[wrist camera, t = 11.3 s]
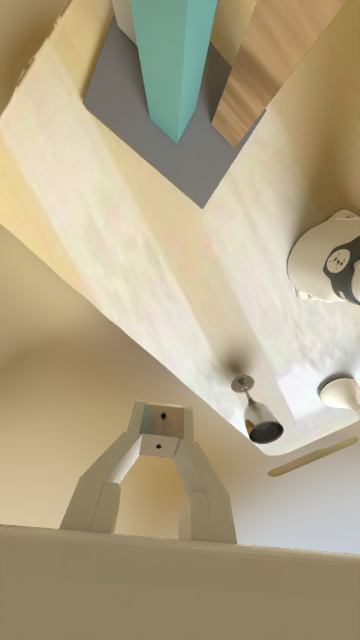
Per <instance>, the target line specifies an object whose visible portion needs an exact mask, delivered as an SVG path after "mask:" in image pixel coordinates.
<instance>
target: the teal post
mask: <svg viewBox="0 0 360 640" xmlns="http://www.w3.org/2000/svg"><path fill="white" fill-rule="evenodd" d="M217 2H218V0H130V6H131V12H132V17H133V23H134V29H135V35H136V40H137V46H138V52H139V58H140V63H141V69H142V75H143V81H144V86H145V92H146V98H147V104H148V109H149V115H150V119H151V120H152V121H153V122H154V123H155V124H156V125H157V126H158V127H159V128H160V129H161V130H162V131H164V132H165V133H166V134H167V135H168V136H169V137H170V138H171V139H172V140H173V141H174V142H175V143H176V144H177V143H178V141H179V139H180V137H181V135H182V134H183V132H184V130H185V128H186V126H187V124H188V122H189V120H190V119H191V117H192V115H193V113H194V111H195V109H196V104H197V100H198V95H199V90H200V85H201V80H202V75H203V70H204V65H205V60H206V56H207V51H208V46H209V41H210V36H211V31H212V26H213V21H214V16H215V11H216V7H217Z"/></svg>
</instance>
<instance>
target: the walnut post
mask: <svg viewBox="0 0 360 640" xmlns="http://www.w3.org/2000/svg"><path fill="white" fill-rule="evenodd" d="M346 1H347V0H258V1H257V3H256V6H255V9H254V11H253V14H252V17H251V19H250V22H249V25H248V27H247V30H246V33H245V35H244V38H243V41H242V43H241V46H240V49H239V51H238V54H237V57H236V59H235V62H234V65H233V67H232V70H231V73H230V75H229V78H228V81H227V83H226V86H225V89H224V91H223V94H222V97H221V99H220V102H219V105H218V107H217V110H216V113H215V115H214V118H213V121H212V123H211V125H212V126H213V127H214V128H215V129H216V130H217V131H218V132H219V133H220V134H221V135H222V136H223V137H224V138H225V139H226V140H227V141H228V143H229V144H230V145H231V146H232V147H233V148H234V149H235V147H236V146H237V145H238V143H239V142H240V141H241V139H242V138H243V137H244V135H245V134H246V133H247V132H248V130H249V129H250V128H251V126H252V125H253V124H254V122H255V121H256V120H257V118H258V117H259V116H260V114H261V113H262V112H263V110H264V109H265V108H266V106H267V105H268V104H269V102H270V101H271V100H272V99H273V97H274V96H275V95H276V93H277V92H278V91H279V89H280V88H281V87H282V85H283V84H284V83H285V81H286V80H287V79H288V77H289V76H290V75H291V73H292V72H293V71H294V70H295V68H296V67H297V66H298V64H299V63H300V62H301V60H302V59H303V58H304V56H305V55H306V54H307V52H308V51H309V50H310V48H311V47H312V46H313V44H314V43H315V42H316V41H317V39H318V38H319V37H320V35H321V34H322V33H323V31H324V30H325V29H326V27H327V26H328V25H329V23H330V22H331V21H332V19H333V18H334V17H335V15H336V14H337V13H338V12H339V10H340V9H341V8H342V6H343V5H344V4H345V2H346Z"/></svg>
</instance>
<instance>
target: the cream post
mask: <svg viewBox="0 0 360 640" xmlns="http://www.w3.org/2000/svg"><path fill="white" fill-rule="evenodd" d="M111 1H112V4H113V8H114V12H115V16H116V20H117V24H118V27H119V28H120V29H121V30H122V31H123V32H124V33H125V34H126V35H127V36H128V37H129V38H130V39H131V40H132V41H133V43H134V44H135V45H136V46H137V40H136V35H135V29H134V23H133V17H132V12H131V6H130V0H111ZM137 47H138V46H137Z"/></svg>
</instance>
